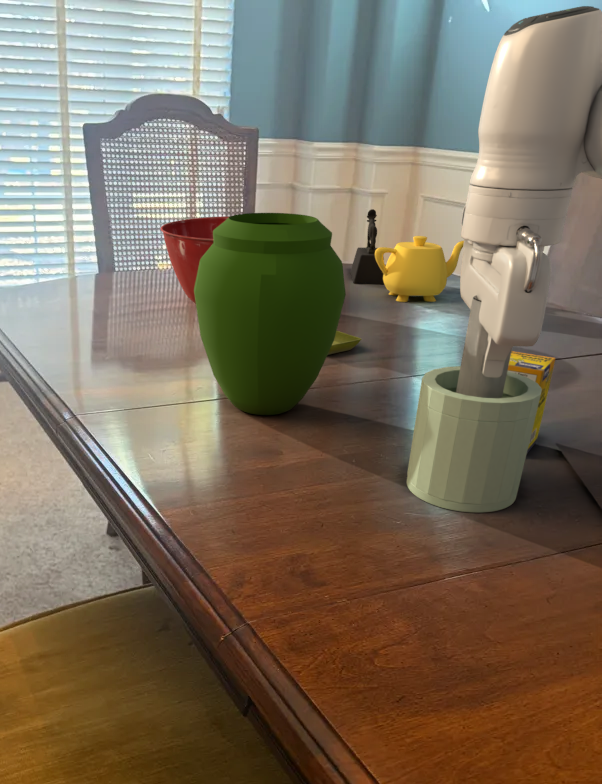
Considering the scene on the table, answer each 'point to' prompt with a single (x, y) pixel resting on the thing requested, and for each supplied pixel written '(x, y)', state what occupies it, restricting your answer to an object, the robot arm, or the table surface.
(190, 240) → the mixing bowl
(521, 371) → the supplement box
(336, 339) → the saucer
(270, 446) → the table surface
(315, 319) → the vase
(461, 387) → the grey cylinder
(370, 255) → the sculpture
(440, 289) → the teapot
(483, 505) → the jar
